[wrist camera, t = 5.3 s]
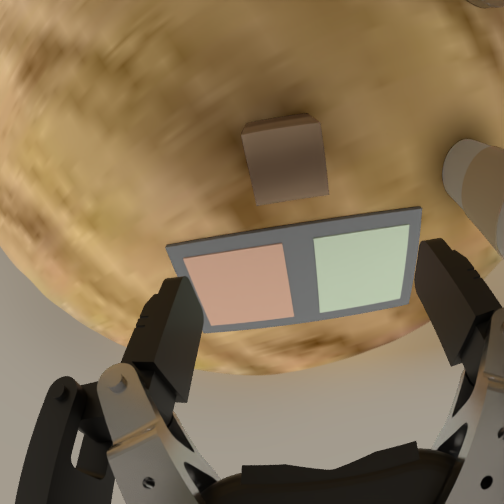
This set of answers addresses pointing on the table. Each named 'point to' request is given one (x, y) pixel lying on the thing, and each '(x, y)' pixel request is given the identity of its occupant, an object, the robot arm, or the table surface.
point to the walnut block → (285, 158)
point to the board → (302, 270)
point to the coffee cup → (478, 186)
